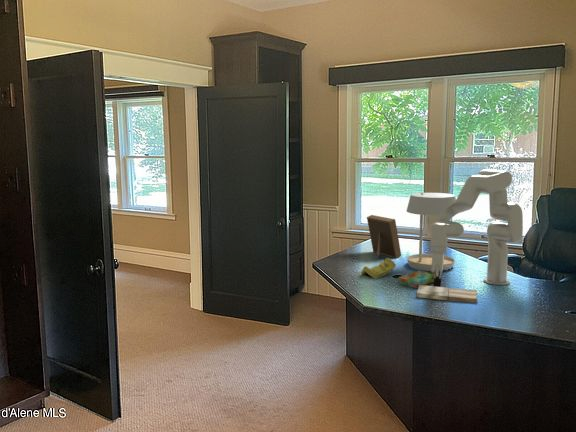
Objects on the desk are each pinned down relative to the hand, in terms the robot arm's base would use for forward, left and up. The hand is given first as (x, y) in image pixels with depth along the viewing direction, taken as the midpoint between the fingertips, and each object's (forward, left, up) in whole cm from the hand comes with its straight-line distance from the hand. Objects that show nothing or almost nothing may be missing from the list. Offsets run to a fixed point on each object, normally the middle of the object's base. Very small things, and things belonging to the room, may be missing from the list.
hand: (437, 286), depth 251 cm
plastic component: (-31, -32, -5) cm, 45 cm away
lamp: (-57, -7, -5) cm, 58 cm away
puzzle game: (-20, -10, -5) cm, 23 cm away
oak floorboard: (0, +12, -5) cm, 13 cm away
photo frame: (-75, -39, -5) cm, 85 cm away
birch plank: (0, -2, -4) cm, 5 cm away
